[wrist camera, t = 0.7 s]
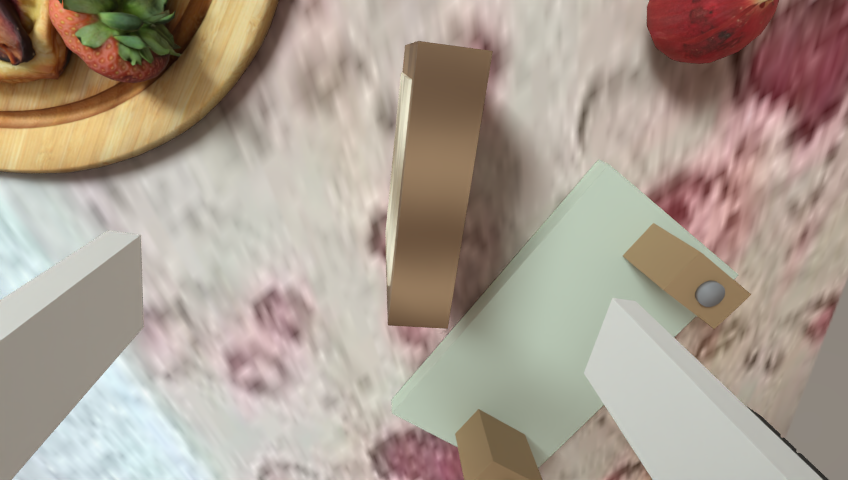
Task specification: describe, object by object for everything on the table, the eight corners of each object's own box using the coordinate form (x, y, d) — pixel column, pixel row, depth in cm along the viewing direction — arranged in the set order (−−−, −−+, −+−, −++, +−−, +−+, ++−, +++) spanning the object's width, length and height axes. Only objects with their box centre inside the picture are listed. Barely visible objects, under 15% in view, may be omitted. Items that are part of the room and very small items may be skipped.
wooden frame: (402, 45, 27) (414, 40, 18) (457, 52, 28) (496, 51, 18) (383, 246, 32) (384, 325, 23) (430, 250, 32) (450, 328, 23)
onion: (672, 79, 29) (770, 88, 22) (602, 31, 28) (683, 23, 20) (733, -11, 28) (863, -34, 20) (663, -67, 26) (775, -115, 19)
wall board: (598, 159, 31) (655, 186, 24) (724, 266, 35) (801, 313, 29) (391, 400, 37) (394, 472, 30) (519, 466, 41) (545, 543, 35)
